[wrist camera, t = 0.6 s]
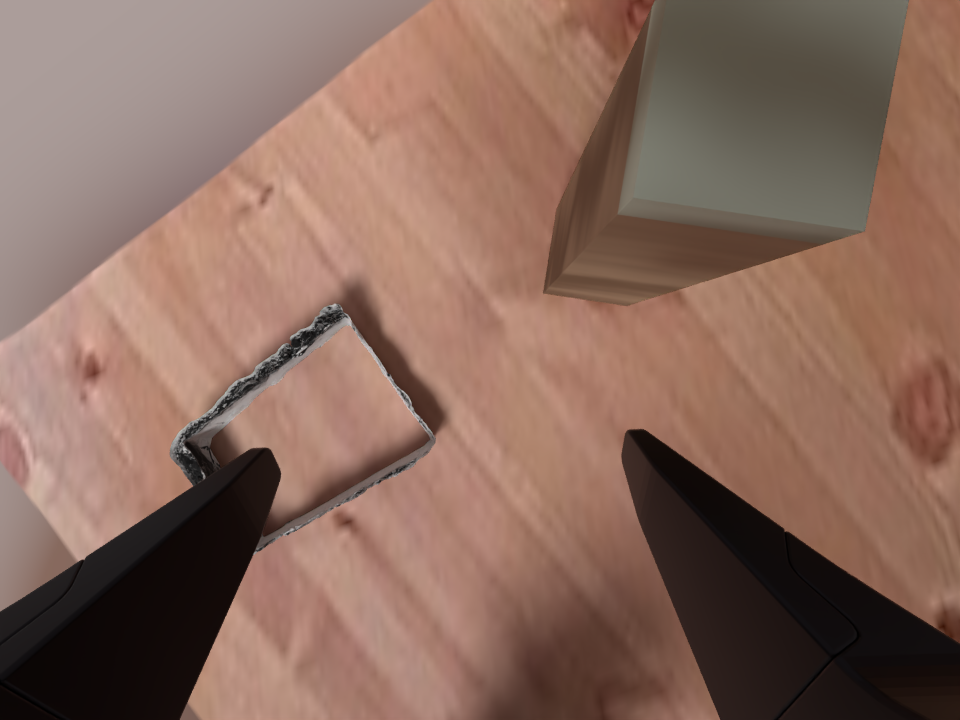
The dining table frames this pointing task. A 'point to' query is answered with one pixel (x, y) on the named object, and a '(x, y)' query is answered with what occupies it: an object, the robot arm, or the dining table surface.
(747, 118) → the grey-green metal block
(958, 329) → the dining table surface
